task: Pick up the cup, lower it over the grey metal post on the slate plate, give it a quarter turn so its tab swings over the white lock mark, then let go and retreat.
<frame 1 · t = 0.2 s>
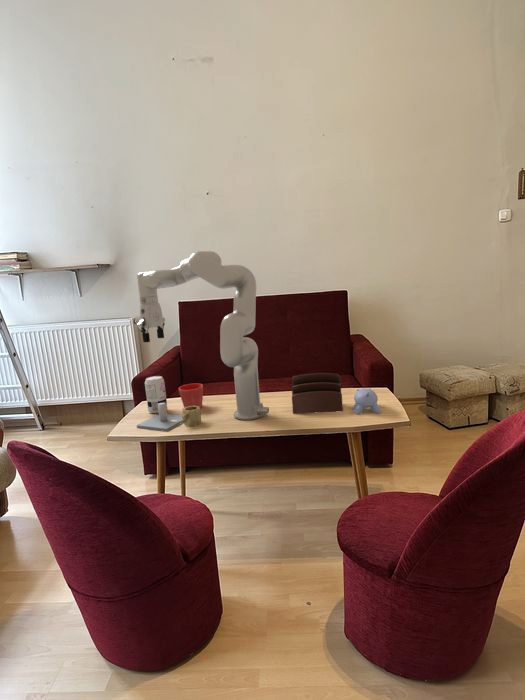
hand: (153, 340, 197), 31 cm above the table, tool pointing down, fingers open, 9 cm apart
flower pot: (193, 408, 199), on the table
letter holder: (317, 409, 184), on the table
post base: (164, 422, 181), on the table
cup: (192, 422, 178), on the table
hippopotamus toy: (366, 410, 178), on the table
supplement can: (158, 411, 198), on the table
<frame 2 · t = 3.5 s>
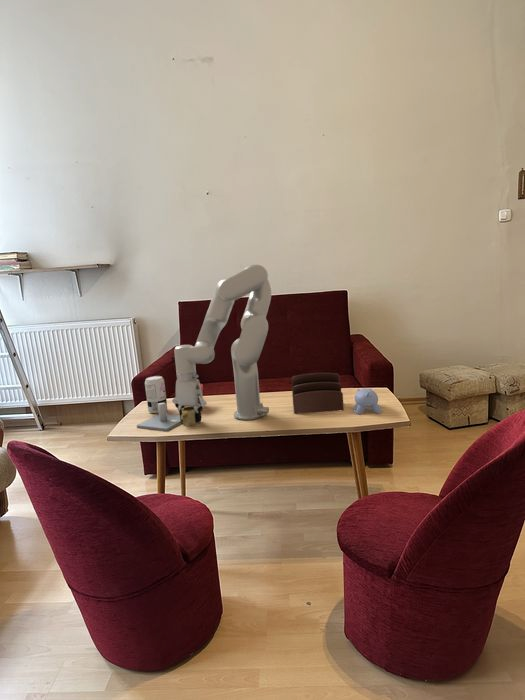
hand: (190, 420, 178), 1 cm above the table, tool pointing down, fingers closed on cup, 6 cm apart
cup: (191, 422, 179), on the table, touching gripper
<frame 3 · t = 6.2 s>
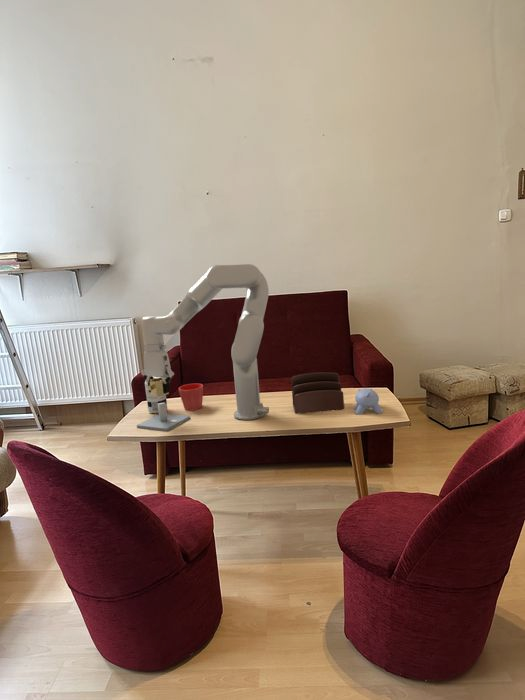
hand: (159, 391, 179), 13 cm above the table, tool pointing down, fingers closed on cup, 6 cm apart
cup: (159, 394, 179), point 12 cm above the table, touching gripper
when the fingers open (3 cm above the table, at t = 8.7 s): cup stays where it is, resting on post base.
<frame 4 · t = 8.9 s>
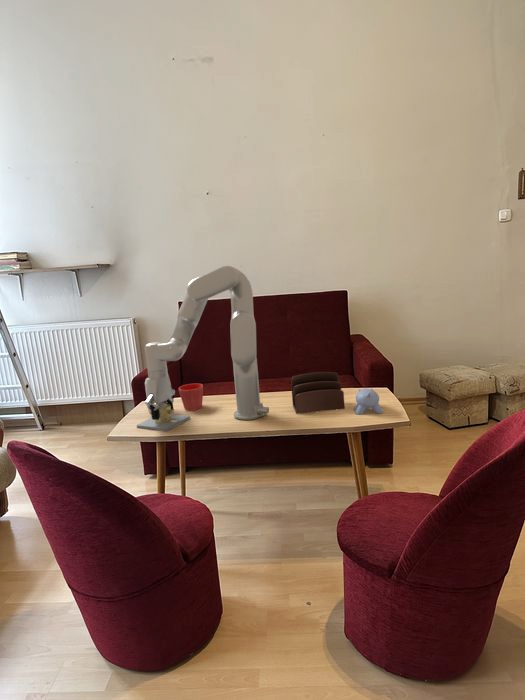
hand: (163, 415, 181), 3 cm above the table, tool pointing down, fingers open, 8 cm apart
cup: (163, 420, 181), point 1 cm above the table, touching post base
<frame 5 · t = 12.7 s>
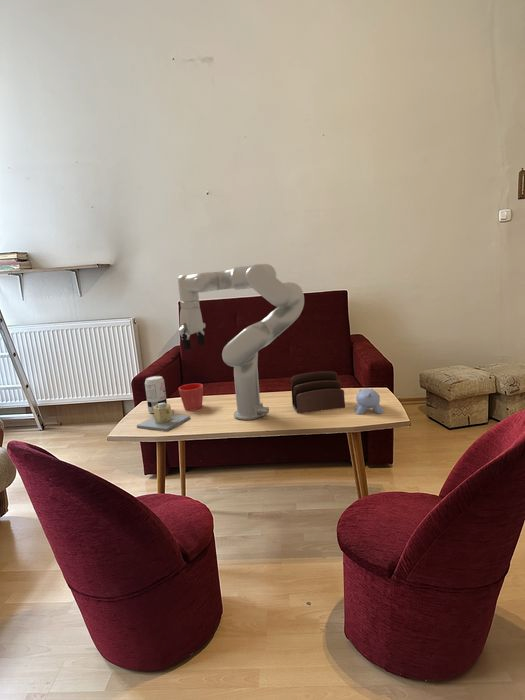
hand: (194, 346, 186), 28 cm above the table, tool pointing down, fingers open, 9 cm apart
at the end: cup 0.1 cm from the post base (horizontally); cup point 1.0 cm above the table; the gripper is holding nothing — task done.
